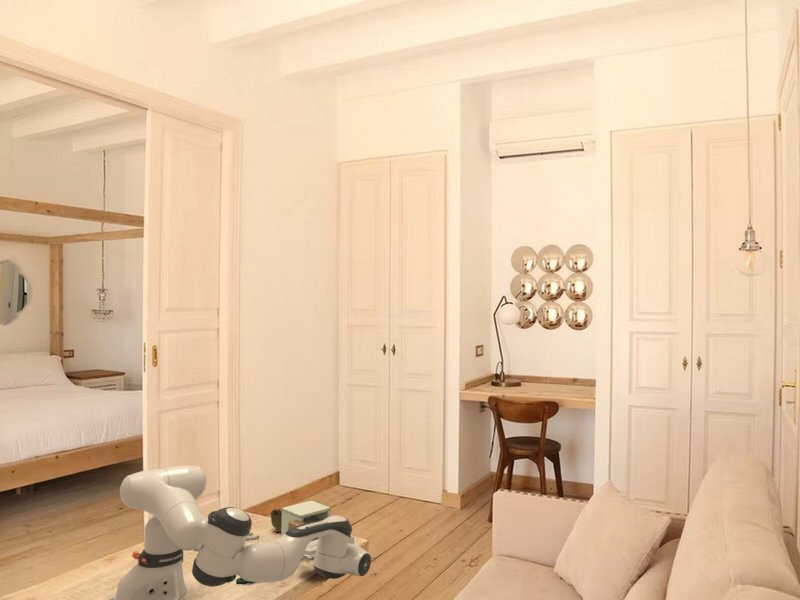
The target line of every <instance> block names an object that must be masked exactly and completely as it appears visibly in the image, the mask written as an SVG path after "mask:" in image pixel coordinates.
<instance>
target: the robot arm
mask: <svg viewBox="0 0 800 600" xmlns="http://www.w3.org/2000/svg"><path fill="white" fill-rule="evenodd" d="M206 487H207V476H206V473H205V471H204V470H203V468H201V467H200V466H198V465H197V466H196V465H189V464H188V465H186V464H185V465H179V466H177V465H176V466H169V467H163V468H162V467H161V468H155V469H148V470H140V471H138V472H134V473H132V474H129V475H126V477H124V479H123V480H122V482H121V484H120V487H119V497H120V499H121V502H122V503H123V504H124V505H125V506H126V507H127V508H129V509H136V510H139V511H140V510H141V511H143V512H146V513H148V514H150V515H151V516H152V517H150V519H149V520H148V521H147V523H146V524H145V526H144V527H145V528H144V542H143V543H144V547H143V550H142V551H141V553H140V552H139V551H138V550H137V551H136V550H134V551H133V552H132V555H131V557H132V558H133V559H134V560H137V561H138V562H137V563H136V565H134V566H133V567H132V568H131V569H130V570H129V571H128V572H127V573H126V574H125V575H124V576H122V577H121V578H120V579H119V581H118V584H117V588H116V593H115V594H112V595H110V596H109V598H108V600H181V598H182V597H183V596H185V594H186V593H187V591H188V589H187V586H186V582H185V578H184V577H185V576H184V570H183V563H184V552H185V551H187V552H188V551H193V550H194V549H196V548H199V551H197V554H196V557H195V558H194V560H193V564H192V569H191V572H192V573H191V574H192V576H193V577H194V579H195V580H196V581H197V582H198V583H199V584H200V585H203V586H206V587H211V588H213V587H219V586H223V585H225V584H226V583H227V584H228V583H229V584H230V583H233V581H234V580H236V579H237V576H239V578H242V579H244V580H247V581H252V582H255V583H276V582H281V581H285V580H287V579H289V578H290V577H293V575H294V573H295V572H296V571H297V569H298V568H299V566H300V563H301V561H302V560H303V561H308V562H312V561H313V564H312V566H313V568H314V570H315V572H316V573H317V574H318V575H319V576H322V577H325V578H327V579H332V580H333V579H334V580H337V579H340V578H342V577H344V576H346V575H347V574H349V575H353V576H357V577H364V576H365V575H367V574H368V572H369V571H370V568H371V566H372V565H371V564H372V556H371V554H370V553H369V552H368V551H367V550H366V549H364V548H363V547H361V546H359V545H357V544H355V536H354V535H352V531H353V526H352V524H351V522H350V521H349V519H348V518H347V517H344V516H341V515H330V516H328V517H326V518H324V519H322V520H318V521H314V522H310V523H306V524H302V525H299V526H295V527H292V528H290V529H288V531H287V532H286V533H285V534H284V535H283V536H280V537H278V538H276V539H274V540H270V541H269V540H268V541H261V542H255V543H251V544H247V543H246V542H247V541H246V539H247V536H248V535H249V533H250V532H251V530H252V529H251V528H252V526H253V525H252V523H253V522H252V518H251V516H250V515H249V514H248V512H245V511H244V510H242V509H240V508H238V507H234V506H227V507H223V508H219V509H218V510H214V511H211V512H210V513H208V516H205V514H204V513H203V510H202V509H201V507H200V506H199V504H198V502H197V500H198V499H199V498H200V497H201V496H202V495H203V493H204V492H205V489H206ZM318 537H319V539H317V540H314V541H311V540H313V539H315V538H318Z"/></svg>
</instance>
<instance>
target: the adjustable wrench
mask: <svg viewBox="0 0 800 600" xmlns="http://www.w3.org/2000/svg"><path fill="white" fill-rule="evenodd" d="M252 535H253V536H252ZM258 538H259V539H260V534H259V533H257V534H255V535H254V533H253V531H250V533H249V535H248V536H247V539H246V542H253V541H252V540H255V541H257V540H259V539H258ZM256 539H257V540H256ZM249 540H251V541H249ZM192 551H193V552H198V551H199V548H196V549H194V550H192Z"/></svg>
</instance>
